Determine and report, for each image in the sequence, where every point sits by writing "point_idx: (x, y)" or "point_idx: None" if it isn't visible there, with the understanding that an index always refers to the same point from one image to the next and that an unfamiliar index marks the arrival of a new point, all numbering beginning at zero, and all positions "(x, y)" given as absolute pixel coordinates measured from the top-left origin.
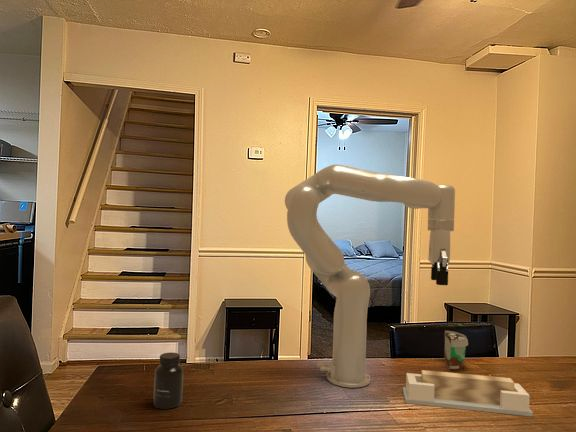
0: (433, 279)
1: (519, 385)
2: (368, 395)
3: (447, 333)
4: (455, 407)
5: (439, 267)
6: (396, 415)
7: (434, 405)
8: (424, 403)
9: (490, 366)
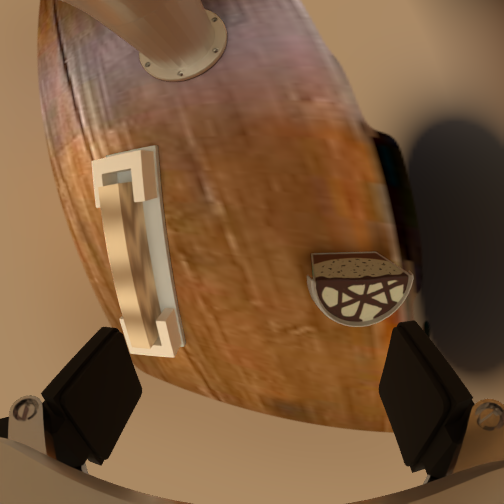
0: (391, 339)
1: (165, 355)
2: (122, 92)
3: (404, 281)
4: None
5: (15, 427)
6: (72, 148)
7: None
8: None
9: (358, 337)
